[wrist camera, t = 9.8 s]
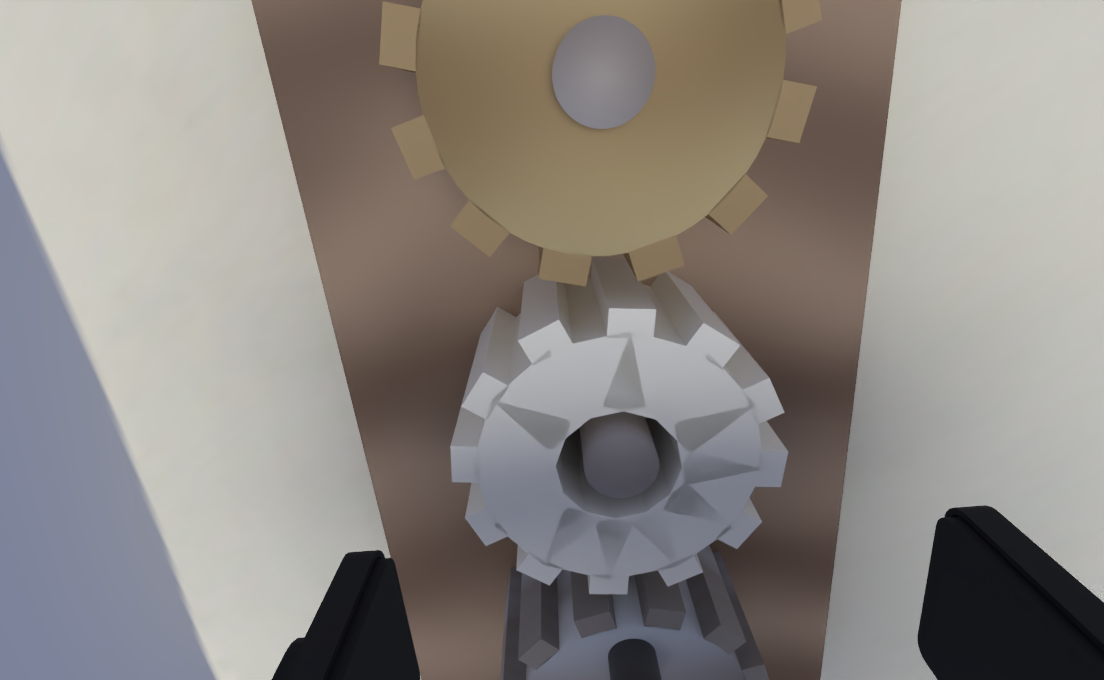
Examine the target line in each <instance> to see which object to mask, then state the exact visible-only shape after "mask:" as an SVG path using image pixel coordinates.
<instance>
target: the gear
mask: <svg viewBox="0 0 1104 680" xmlns="http://www.w3.org/2000/svg"><path fill="white" fill-rule="evenodd" d="M623 411H625V412H628V413H632V414H636V415H640V416H644V417H645V418H646V421H647V424H648V427H649V430H650V433H651V436H652V439H653V442H654V445H655V448H656V451H657V454H658V458H659V472H658V475H657V477H656V479H655V481H654V482H653V483H652V485H651V486H650V487H649V488H647V489H646V490H645V491H643V492H642V493H640V494H638V495H635V496H632V497H628V498H612V497H608V496H605V495H602V494H600V493H599V492H597V491H596V490H594V489H593V488H592V487H591V486H590V484H589V483H588V481H587V479H586V476H585V472H584V464H583V455H582V446H581V438H580V429H579V427H581V426H582V425H583V424H584V423H585V422H587V421H588V420H589V419H590V418H595V417H600V416H604V415H609V414H614V413H618V412H623ZM782 413H785V412H784V410H783V408H782V405H781V403H780V401H779V399H778V396H777V394H776V392H775V389H774V387H773V385H772V383H771V380H770V378H769V377H768V375H767V374H766V373H765V372H764V371H763V369H762V368H761V367H760V366H759V365H758V363H757V362H756V361H755V360H754V359H753V357H752V356H751V355H750V354H749V353H748V351H747V350H746V349H745V348H744V347H743V345H742V344H741V343H740V342H739V341H738V339H737V338H736V337H735V336H734V335H733V333H732V332H731V331H730V330H729V329H728V327H727V326H726V325H725V324H724V323H723V321H722V320H721V319H720V318H719V317H718V315H717V314H716V313H715V312H713V311H712V310H711V309H710V308H709V306H708V305H707V304H706V303H705V302H704V300H703V299H702V298H701V297H700V296H699V294H698V293H697V292H696V291H695V289H694V288H693V287H692V286H691V285H689V284H688V283H686V282H685V281H683V280H681V279H680V278H678V277H677V276H675V275H673V274H672V273H670V272H669V271H667V272H665V273H662V274H659V275H658V276H657V278H656V279H655V280H654V282H653V283H652V285H651V286H648V285H644V284H642V283H641V281H639V282H638V281H637V279H636V277H635V275H634V274H633V272H632V270H631V268H630V266H629V264H628V262H627V261H626V259H625V258H624V257H592V267H591V278H590V279H587V284H586V287H585V286H579V285H573V284H565V283H561V282H554V281H548V280H542V279H538V275H536V276H534V277H532V278H530V279H528V280H526V281H525V282H524V286H523V296H522V306H521V313H520V314H519V315H518V316H517V317H515V316H513V315H512V314H510V313H508V312H506V311H504V310H503V309H501V308H499V307H497V308H496V310H495V311H494V313H493V315H492V316H491V318H490V320H489V321H488V323H487V324H486V326H485V328H484V329H483V331H482V333H481V335H480V338H479V342H478V346H477V349H476V353H475V357H474V361H473V364H472V368H471V371H470V375H469V379H468V383H467V386H466V390H465V394H464V397H463V401H462V405H461V409H460V412H459V416H458V420H457V423H456V427H455V431H454V435H453V438H452V442H451V446H450V450H451V472H452V482H466V483H471V488H470V494H469V499H468V504H467V510H466V515H465V519H466V520H467V521H468V523H469V524H470V525H471V527H472V528H473V529H474V531H475V532H476V534H477V535H478V536H479V538H480V539H481V540H482V542H483V543H484V544H485V546H488V545H490V544H492V543H494V542H497V541H499V540H501V539H503V538H505V537H509V538H510V539H511V540H513V541H514V542H515V543H516V544H518V548H517V566H516V570H517V571H519V572H521V573H523V574H526V575H528V576H530V577H532V578H534V579H536V580H539V581H541V582H543V583H545V584H547V585H550V584H551V583H552V582H553V581H554V579H555V578H556V577H557V576H558V574H559V573H560V572H561V571H562V569H563V570H567V571H572V572H577V573H581V574H586V575H587V578H588V588H589V594H627V591H628V582H629V576H632V575H637V574H642V573H647V572H652V571H657V570H658V571H659V573H660V575H661V576H662V578H663V580H664V581H665V583H666V585H667V586H671V585H673V584H676V583H678V582H681V581H683V580H685V579H688V578H690V577H693V576H695V575H698V574H700V573H703V570H702V567H701V564H700V561H699V558H698V555H697V553H698V552H699V551H701V550H702V549H704V548H705V547H707V546H708V545H710V544H711V543H712V542H714V541H715V540H717V539H718V540H720V541H722V542H724V543H726V544H728V545H730V546H732V547H734V548H736V549H738V548H739V546H740V545H741V544H742V543H743V542H744V541H745V540H746V539H747V538H748V537H749V536H750V535H751V533H752V532H753V531H754V530H755V529H756V528H757V527H758V526H759V525H760V524H761V523H762V520H761V519H760V517H759V515H758V513H757V511H756V509H755V507H754V505H753V503H752V501H751V500H750V498H749V497H750V495H751V494H752V492H753V490H754V488H755V487H781V484H782V479H783V475H784V470H785V465H786V461H787V456H788V450H787V449H786V448H785V446H784V445H783V443H782V442H781V441H780V439H779V438H778V436H777V435H776V433H775V432H774V431H773V429H772V428H771V426H770V425H769V424H768V422H767V420H769V419H771V418H773V417H776V416H778V415H780V414H782Z"/></svg>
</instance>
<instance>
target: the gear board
mask: <svg viewBox="0 0 1104 680" xmlns="http://www.w3.org/2000/svg"><path fill="white" fill-rule="evenodd" d="M901 1H902V0H252V4H253V8H254V12H255V16H256V20H257V24H258V28H259V32H260V36H261V40H262V44H263V48H264V52H265V56H266V60H267V64H268V68H269V72H270V76H271V80H272V84H273V88H274V92H275V96H276V100H277V104H278V108H279V112H280V116H281V120H282V124H283V128H284V132H285V136H286V140H287V144H288V148H289V152H290V156H291V160H292V164H293V168H294V172H295V176H296V180H297V184H298V188H299V192H300V196H301V200H302V204H303V208H304V212H305V216H306V220H307V224H308V228H309V232H310V236H311V240H312V244H313V248H314V252H315V256H316V260H317V264H318V268H319V272H320V276H321V280H322V284H323V288H324V292H325V296H326V300H327V304H328V308H329V312H330V316H331V320H332V324H333V328H334V332H335V336H336V340H337V344H338V348H339V352H340V356H341V360H342V364H343V368H344V372H345V376H346V380H347V384H348V388H349V392H350V396H351V400H352V404H353V408H354V412H355V416H356V420H357V424H358V428H359V432H360V436H361V440H362V444H363V448H364V452H365V456H366V460H367V464H368V468H369V472H370V476H371V480H372V484H373V488H374V492H375V496H376V500H377V504H378V508H379V511H380V515H381V519H382V523H383V527H384V531H385V535H386V539H387V543H388V547H389V551H390V555H391V558H392V559H393V560H394V562H395V566H396V570H397V575H398V579H399V583H400V588H401V592H402V596H403V601H404V605H405V609H406V614H407V618H408V622H409V627H410V631H411V635H412V640H413V644H414V648H415V653H416V657H417V661H418V666H419V671H420V675H421V679H422V680H820V676H821V668H822V660H823V651H824V643H825V635H826V626H827V618H828V610H829V601H830V593H831V585H832V576H833V568H834V559H835V551H836V543H837V534H838V526H839V518H840V509H841V501H842V493H843V484H844V476H845V468H846V459H847V451H848V443H849V434H850V426H851V418H852V409H853V401H854V393H855V384H856V376H857V368H858V359H859V351H860V343H861V334H862V326H863V318H864V309H865V301H866V293H867V284H868V276H869V268H870V259H871V251H872V243H873V234H874V226H875V218H876V209H877V201H878V193H879V184H880V176H881V168H882V159H883V151H884V143H885V134H886V126H887V118H888V109H889V101H890V93H891V84H892V76H893V68H894V59H895V51H896V42H897V34H898V26H899V17H900V9H901ZM592 257H624V258H625V259H626V261H627V262H628V264H629V266H630V268H631V270H632V272H633V274H634V275H635V277H636V279H637V281H638V282H639V281H641V283H642V284H644V285H648V286H651V285H652V283H653V282H654V280H655V279H656V278H657V276H658V275H659V274H662V273H665V272H667V271H669V272H670V273H672V274H673V275H675V276H677V277H678V278H680V279H681V280H683V281H685V282H686V283H688V284H689V285H691V286H692V287H693V288H694V289H695V291H696V292H697V293H698V294H699V296H700V297H701V298H702V299H703V300H704V302H705V303H706V304H707V305H708V306H709V308H710V309H711V310H712V311H713V312H715V313H716V314H717V315H718V317H719V318H720V319H721V320H722V321H723V323H724V324H725V325H726V326H727V327H728V329H729V330H730V331H731V332H732V333H733V335H734V336H735V337H736V338H737V339H738V341H739V342H740V343H741V344H742V345H743V347H744V348H745V349H746V350H747V351H748V353H749V354H750V355H751V356H752V357H753V359H754V360H755V361H756V362H757V363H758V365H759V366H760V367H761V368H762V369H763V371H764V372H765V373H766V374H767V375H768V377H769V378H770V380H771V383H772V385H773V387H774V389H775V392H776V394H777V396H778V399H779V401H780V403H781V405H782V408H783V410H784V412H785V413H782V414H780V415H778V416H776V417H773V418H771V419H769V420H767V422H768V424H769V425H770V426H771V428H772V429H773V431H774V432H775V433H776V435H777V436H778V438H779V439H780V441H781V442H782V443H783V445H784V446H785V448H786V449H787V450H788V456H787V461H786V465H785V470H784V475H783V479H782V484H781V487H755V488H754V490H753V492H752V494H751V495H750V497H749V498H750V500H751V501H752V503H753V505H754V507H755V509H756V511H757V513H758V515H759V517H760V519H761V520H762V523H761V524H760V525H759V526H758V527H757V528H756V529H755V530H754V531H753V532H752V533H751V535H750V536H749V537H748V538H747V539H746V540H745V541H744V542H743V543H742V544H741V545H740V546H739V548H738V549H736V548H734V547H732V546H730V545H728V544H726V543H724V542H722V541H720V540H718V539H717V540H715V541H714V542H712V543H711V544H710V545H708V546H707V547H705V548H704V549H702V550H701V551H699V552H698V553H697V555H698V558H699V561H700V564H701V567H702V570H703V573H700V574H698V575H695V576H693V577H690V578H688V579H685V580H683V581H681V582H678V583H676V584H673V585H671V586H667V585H666V583H665V581H664V580H663V578H662V576H661V575H660V573H659V571H658V570H657V571H652V572H647V573H642V574H637V575H632V576H629V582H628V591H627V594H589V588H588V578H587V575H586V574H581V573H577V572H572V571H567V570H563V569H562V571H561V572H560V573H559V574H558V576H557V577H556V578H555V579H554V581H553V582H552V583H551V584H550V585H547V584H545V583H543V582H541V581H539V580H536V579H534V578H532V577H530V576H528V575H526V574H523V573H521V572H519V571H517V570H516V566H517V548H518V544H516V543H515V542H514V541H513V540H511V539H510V538H509V537H505V538H503V539H501V540H499V541H497V542H494V543H492V544H490V545H488V546H485V544H484V543H483V542H482V540H481V539H480V538H479V536H478V535H477V534H476V532H475V531H474V529H473V528H472V527H471V525H470V524H469V523H468V521H467V520H466V519H465V515H466V510H467V504H468V499H469V494H470V488H471V483H466V482H452V472H451V450H450V446H451V442H452V438H453V435H454V431H455V427H456V423H457V420H458V416H459V412H460V409H461V405H462V401H463V397H464V394H465V390H466V386H467V383H468V379H469V375H470V371H471V368H472V364H473V361H474V357H475V353H476V349H477V346H478V342H479V338H480V335H481V333H482V331H483V329H484V328H485V326H486V324H487V323H488V321H489V320H490V318H491V316H492V315H493V313H494V311H495V310H496V308H497V307H499V308H501V309H503V310H504V311H506V312H508V313H510V314H512V315H513V316H515V317H517V316H518V315H519V314H520V313H521V306H522V296H523V286H524V282H525V281H526V280H528V279H530V278H532V277H534V276H536V275H538V279H542V280H548V281H554V282H561V283H565V284H573V285H579V286H585V287H586V284H587V279H590V278H591V267H592ZM579 429H580V438H581V446H582V455H583V464H584V472H585V476H586V479H587V481H588V483H589V484H590V486H591V487H592V488H593V489H594V490H596V491H597V492H599V493H600V494H602V495H605V496H608V497H612V498H628V497H632V496H635V495H638V494H640V493H642V492H643V491H645V490H646V489H647V488H649V487H650V486H651V485H652V483H653V482H654V481H655V479H656V477H657V475H658V472H659V458H658V454H657V451H656V448H655V445H654V442H653V439H652V436H651V433H650V430H649V427H648V424H647V421H646V418H645V417H644V416H640V415H636V414H632V413H628V412H625V411H623V412H618V413H614V414H609V415H604V416H600V417H595V418H590V419H589V420H588V421H587V422H585V423H584V424H583V425H582V426H581V427H579Z"/></svg>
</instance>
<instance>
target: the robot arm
mask: <svg viewBox="0 0 1104 680" xmlns="http://www.w3.org/2000/svg"><path fill="white" fill-rule="evenodd" d="M918 645H919V649H920V652H921V654H922V657H923V658H924V660H925V662H926V663H927V665H928V666H929V668H930V669H931V671H932V672H933V673H934V675H935V676H936V678H937V679H938V680H1104V603H1103V602H1102V601H1101V600H1100V599H1099V598H1097V597H1096V596H1095V595H1094V594H1093V593H1092V592H1091V591H1089V590H1088V589H1087V588H1086V587H1085V586H1084V585H1082V584H1081V583H1080V582H1079V581H1078V580H1077V579H1075V578H1074V577H1073V576H1072V575H1071V574H1070V573H1069V572H1067V571H1066V570H1065V569H1064V568H1063V567H1062V566H1060V565H1059V564H1058V563H1057V562H1056V561H1055V560H1054V559H1052V558H1051V557H1050V556H1049V555H1048V554H1047V553H1045V552H1044V551H1043V550H1042V549H1041V548H1040V547H1038V546H1037V545H1036V544H1035V543H1034V542H1033V541H1032V540H1030V539H1029V538H1028V537H1027V536H1026V535H1025V534H1023V533H1022V532H1021V531H1020V530H1019V529H1018V528H1016V527H1015V526H1014V525H1013V524H1012V523H1011V522H1010V521H1008V520H1007V519H1006V518H1005V517H1004V516H1003V515H1001V514H1000V513H999V512H998V511H997V510H995V509H994V508H992V507H990V506H973V507H960V508H952V509H949V510H948V511H947V512H946V514H945V517H944V518H940V519H939V520H938V522H937V525H936V530H935V536H934V542H933V548H932V554H931V560H930V566H929V572H928V578H927V584H926V590H925V596H924V602H923V608H922V614H921V620H920V625H919V631H918ZM272 680H420V671H419V666H418V661H417V657H416V653H415V648H414V644H413V640H412V635H411V631H410V627H409V622H408V618H407V614H406V609H405V605H404V601H403V596H402V592H401V588H400V583H399V579H398V575H397V570H396V566H395V562H394V560H393V559H392V558H387V559H385V557H384V554H383V553H382V551H379V550H377V551H363V552H350V553H347V554H346V555H345V557H344V558H343V560H342V562H341V564H340V566H339V568H338V570H337V572H336V574H335V576H334V578H333V580H332V582H331V585H330V587H329V589H328V591H327V593H326V595H325V597H324V599H323V601H322V603H321V605H320V607H319V609H318V611H317V613H316V615H315V617H314V620H313V622H312V624H311V626H310V628H309V630H308V632H307V634H306V636H305V638H297V639H296V640H295V641H293V642H292V643H291V645H290V646H289V648H288V649H287V651H286V652H285V654H284V656H283V658H282V660H281V662H280V664H279V666H278V668H277V670H276V672H275V674H274V676H273V678H272Z"/></svg>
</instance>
